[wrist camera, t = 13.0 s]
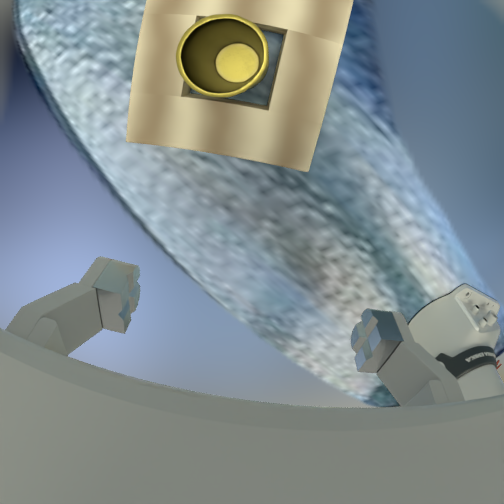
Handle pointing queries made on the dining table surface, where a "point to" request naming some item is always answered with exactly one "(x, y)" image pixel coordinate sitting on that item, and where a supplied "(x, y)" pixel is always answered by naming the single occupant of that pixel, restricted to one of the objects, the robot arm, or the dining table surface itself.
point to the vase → (222, 55)
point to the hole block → (234, 111)
